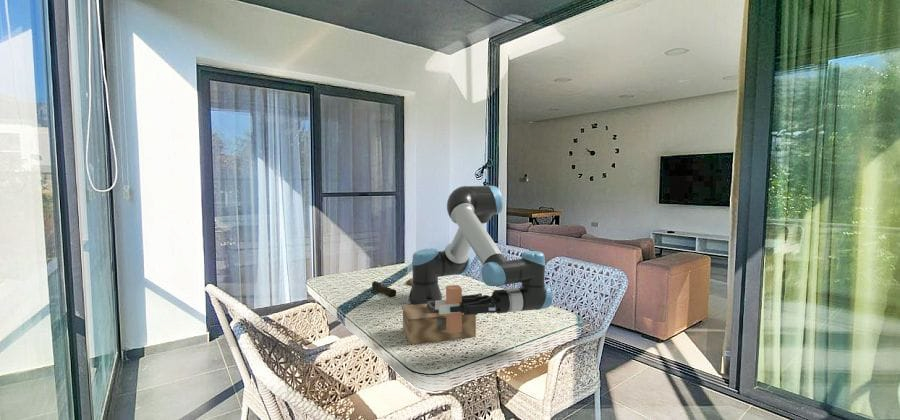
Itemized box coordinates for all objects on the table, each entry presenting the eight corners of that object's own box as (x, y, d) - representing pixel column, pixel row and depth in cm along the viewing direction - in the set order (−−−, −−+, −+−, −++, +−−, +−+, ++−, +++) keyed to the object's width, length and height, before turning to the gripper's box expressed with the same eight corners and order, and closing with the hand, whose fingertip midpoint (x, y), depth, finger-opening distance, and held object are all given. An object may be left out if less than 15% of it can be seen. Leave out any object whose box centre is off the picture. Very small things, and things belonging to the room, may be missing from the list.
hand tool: (397, 297, 195) (396, 287, 194) (389, 298, 192) (389, 288, 192) (377, 288, 209) (377, 279, 209) (370, 289, 207) (370, 280, 206)
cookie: (410, 287, 210) (410, 282, 210) (404, 282, 220) (404, 277, 220) (428, 285, 214) (428, 280, 214) (422, 280, 224) (421, 275, 223)
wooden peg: (449, 333, 128) (449, 289, 126) (446, 328, 131) (446, 286, 130) (461, 331, 129) (461, 288, 127) (458, 327, 132) (458, 285, 131)
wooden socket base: (408, 345, 139) (408, 313, 138) (401, 329, 154) (401, 300, 153) (477, 337, 146) (477, 307, 145) (464, 322, 160) (464, 295, 159)
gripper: (517, 320, 126) (444, 328, 120) (496, 304, 143) (431, 310, 136) (517, 297, 126) (444, 303, 119) (496, 283, 142) (431, 288, 136)
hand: (437, 307), depth 128 cm, fingers closed on wooden peg, 4 cm apart
